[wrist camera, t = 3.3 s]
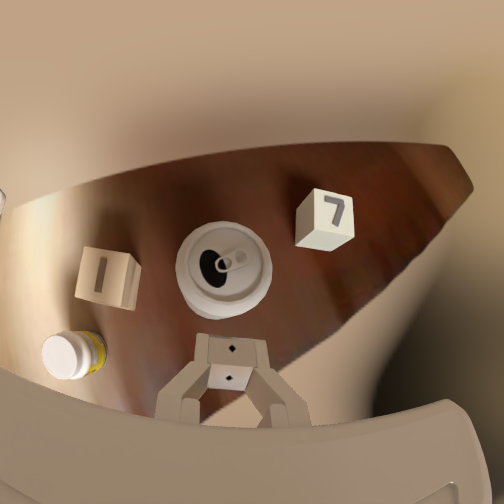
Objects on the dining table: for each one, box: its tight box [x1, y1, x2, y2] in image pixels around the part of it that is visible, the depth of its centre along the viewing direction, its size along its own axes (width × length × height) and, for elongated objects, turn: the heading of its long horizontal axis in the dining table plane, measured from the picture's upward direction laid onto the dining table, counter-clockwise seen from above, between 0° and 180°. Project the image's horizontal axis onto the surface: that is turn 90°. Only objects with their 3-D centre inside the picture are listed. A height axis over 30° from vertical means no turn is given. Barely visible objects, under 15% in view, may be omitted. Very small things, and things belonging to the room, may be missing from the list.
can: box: [175, 221, 272, 320], centre depth 25 cm, size 8×8×12 cm
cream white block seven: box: [295, 188, 354, 251], centre depth 32 cm, size 5×5×6 cm
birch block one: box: [75, 246, 141, 311], centre depth 25 cm, size 5×5×6 cm
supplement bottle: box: [42, 331, 108, 379], centre depth 21 cm, size 5×5×8 cm
